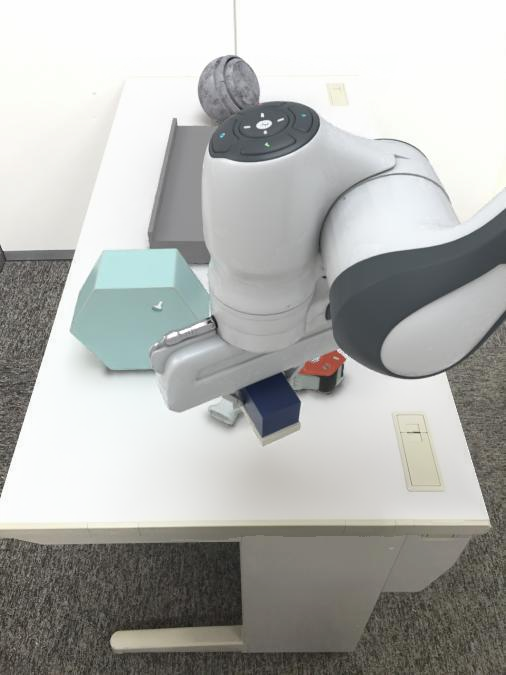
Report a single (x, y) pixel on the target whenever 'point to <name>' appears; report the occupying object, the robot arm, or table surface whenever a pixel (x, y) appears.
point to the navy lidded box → (272, 408)
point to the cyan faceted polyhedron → (136, 304)
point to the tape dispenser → (297, 383)
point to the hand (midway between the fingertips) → (260, 392)
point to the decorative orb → (227, 87)
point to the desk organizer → (181, 194)
